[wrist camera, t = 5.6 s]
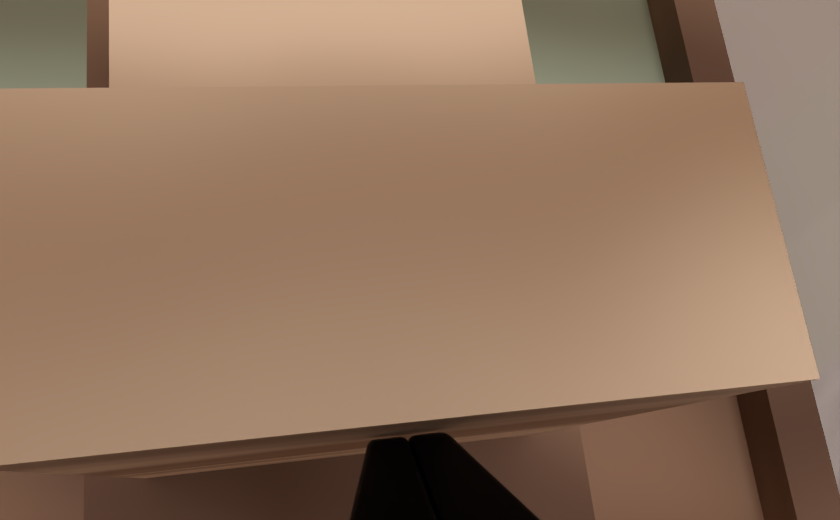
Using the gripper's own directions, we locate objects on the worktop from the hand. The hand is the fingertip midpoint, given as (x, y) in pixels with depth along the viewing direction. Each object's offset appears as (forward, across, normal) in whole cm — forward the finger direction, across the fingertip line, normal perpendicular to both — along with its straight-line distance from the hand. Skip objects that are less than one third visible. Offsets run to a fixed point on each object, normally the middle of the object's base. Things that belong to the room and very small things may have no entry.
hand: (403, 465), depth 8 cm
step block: (+7, 0, +1) cm, 7 cm away
